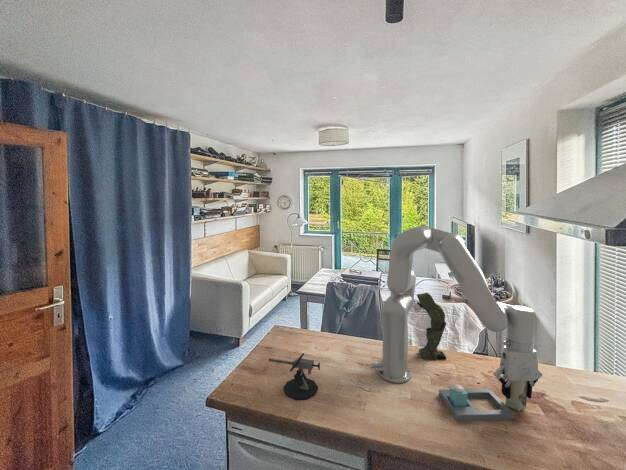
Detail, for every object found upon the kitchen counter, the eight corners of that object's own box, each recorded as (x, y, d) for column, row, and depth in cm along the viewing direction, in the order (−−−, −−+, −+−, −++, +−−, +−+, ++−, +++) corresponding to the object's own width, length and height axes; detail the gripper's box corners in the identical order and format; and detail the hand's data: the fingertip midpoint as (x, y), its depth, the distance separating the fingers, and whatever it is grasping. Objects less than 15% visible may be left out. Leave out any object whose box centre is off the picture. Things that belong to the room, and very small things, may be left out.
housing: (456, 421, 94) (457, 414, 94) (439, 394, 107) (439, 389, 107) (514, 419, 95) (514, 413, 94) (489, 394, 107) (489, 388, 107)
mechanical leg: (450, 351, 137) (436, 288, 135) (456, 359, 130) (441, 292, 128) (419, 356, 139) (405, 294, 137) (423, 365, 132) (408, 299, 130)
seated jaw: (454, 411, 99) (455, 391, 98) (449, 403, 103) (449, 383, 102) (466, 411, 99) (467, 390, 98) (460, 403, 103) (461, 383, 102)
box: (519, 412, 98) (521, 374, 97) (504, 405, 102) (506, 368, 100) (527, 406, 101) (529, 370, 99) (512, 399, 104) (514, 364, 103)
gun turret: (275, 374, 121) (274, 344, 120) (323, 382, 115) (323, 350, 114) (260, 393, 109) (259, 359, 107) (314, 403, 103) (313, 367, 102)
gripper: (500, 350, 95) (497, 403, 97) (554, 349, 95) (550, 402, 97) (486, 339, 103) (484, 389, 104) (537, 338, 103) (533, 388, 105)
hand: (516, 395), depth 101 cm, fingers closed on box, 6 cm apart
